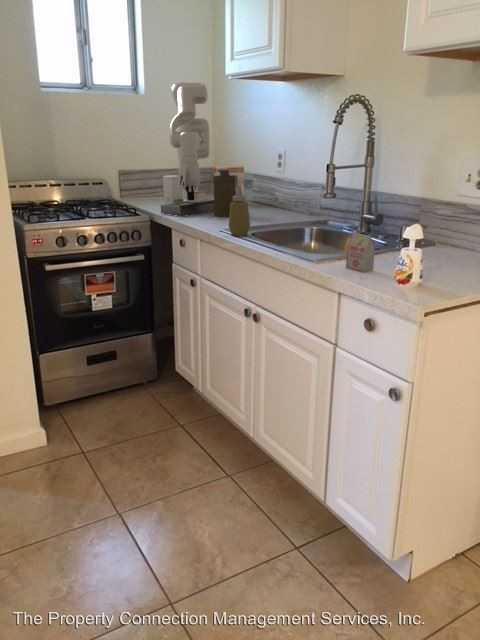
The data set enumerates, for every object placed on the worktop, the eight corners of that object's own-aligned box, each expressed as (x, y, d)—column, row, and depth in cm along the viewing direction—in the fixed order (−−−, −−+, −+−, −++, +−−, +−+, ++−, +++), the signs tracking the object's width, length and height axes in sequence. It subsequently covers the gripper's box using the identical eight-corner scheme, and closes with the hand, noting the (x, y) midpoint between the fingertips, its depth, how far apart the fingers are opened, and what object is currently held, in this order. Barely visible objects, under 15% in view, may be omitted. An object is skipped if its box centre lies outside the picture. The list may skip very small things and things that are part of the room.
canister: (216, 217, 244) (215, 171, 238) (212, 214, 254) (210, 169, 247) (239, 216, 247) (239, 170, 240) (234, 213, 256) (234, 169, 250)
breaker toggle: (196, 201, 266) (196, 190, 264) (205, 202, 262) (205, 191, 260) (190, 201, 263) (190, 191, 262) (199, 202, 259) (198, 192, 258)
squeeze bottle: (248, 237, 200) (248, 187, 194) (226, 236, 201) (225, 187, 195) (251, 233, 207) (251, 184, 201) (230, 232, 209) (230, 184, 203)
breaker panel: (198, 208, 273) (198, 197, 272) (218, 210, 264) (218, 199, 262) (161, 213, 257) (160, 202, 255) (180, 216, 248) (180, 205, 246)
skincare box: (172, 208, 272) (171, 176, 267) (163, 207, 276) (161, 176, 271) (184, 206, 278) (183, 175, 273) (175, 205, 282) (173, 174, 277)
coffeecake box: (243, 204, 286) (243, 165, 280) (244, 205, 280) (244, 166, 273) (215, 204, 286) (214, 165, 280) (215, 206, 279) (214, 166, 273)
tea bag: (354, 266, 158) (357, 231, 155) (372, 270, 153) (375, 235, 150) (345, 268, 156) (347, 233, 153) (363, 272, 151) (366, 236, 148)
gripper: (196, 159, 261) (197, 198, 267) (171, 160, 251) (173, 201, 257) (206, 159, 256) (207, 199, 262) (182, 160, 246) (183, 202, 252)
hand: (190, 200), depth 259 cm, fingers closed
